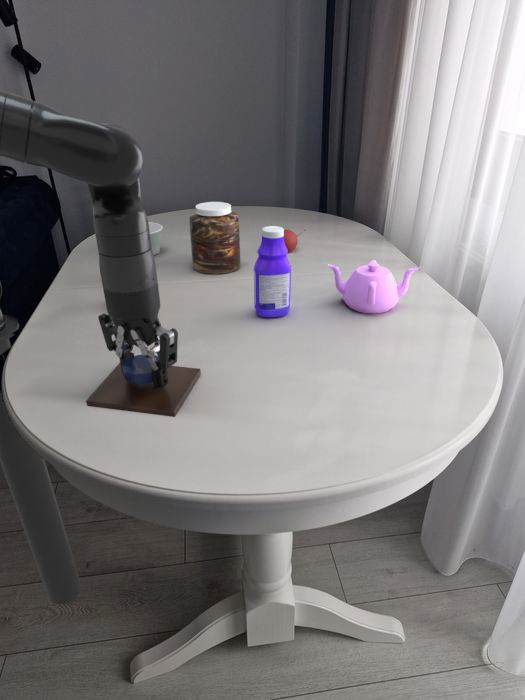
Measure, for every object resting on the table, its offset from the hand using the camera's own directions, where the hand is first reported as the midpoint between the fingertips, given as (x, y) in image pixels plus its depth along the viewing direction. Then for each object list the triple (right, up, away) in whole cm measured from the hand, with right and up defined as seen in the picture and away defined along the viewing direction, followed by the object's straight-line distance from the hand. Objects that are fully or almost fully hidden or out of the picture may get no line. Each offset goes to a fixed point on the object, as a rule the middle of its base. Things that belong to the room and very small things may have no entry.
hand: (145, 380), depth 80 cm
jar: (+7, +26, +48) cm, 55 cm away
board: (0, -1, +1) cm, 2 cm away
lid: (0, +2, -1) cm, 3 cm away
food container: (-14, +31, +59) cm, 68 cm away
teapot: (+41, +14, +28) cm, 51 cm away
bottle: (+20, +12, +25) cm, 34 cm away
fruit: (+26, +32, +59) cm, 72 cm away
